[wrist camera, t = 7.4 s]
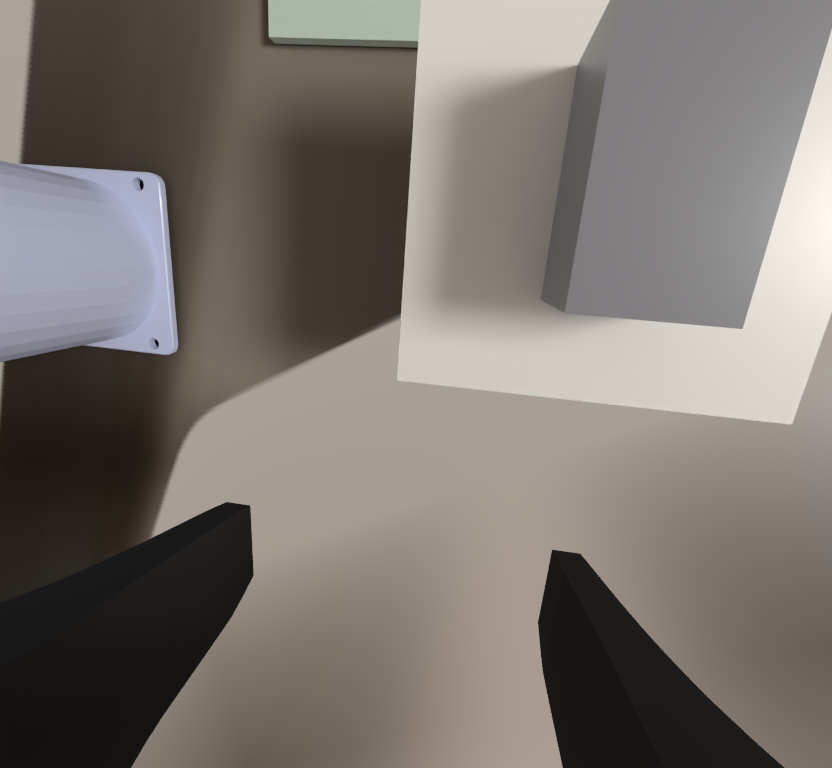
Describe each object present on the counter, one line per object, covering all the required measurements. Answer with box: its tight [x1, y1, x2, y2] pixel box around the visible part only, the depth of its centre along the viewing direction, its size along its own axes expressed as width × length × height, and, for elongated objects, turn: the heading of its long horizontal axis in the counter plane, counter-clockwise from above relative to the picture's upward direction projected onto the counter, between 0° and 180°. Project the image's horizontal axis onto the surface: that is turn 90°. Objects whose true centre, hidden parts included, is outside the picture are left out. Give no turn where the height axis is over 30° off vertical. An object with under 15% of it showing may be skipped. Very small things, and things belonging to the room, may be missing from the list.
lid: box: [397, 0, 832, 424], centre depth 8 cm, size 10×10×4 cm
